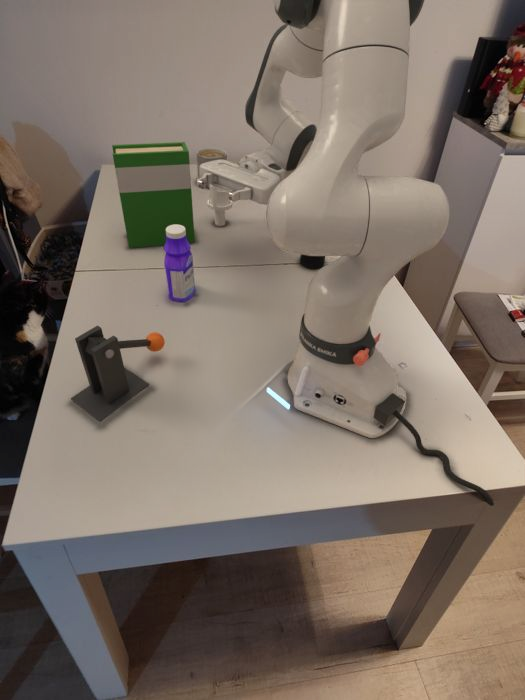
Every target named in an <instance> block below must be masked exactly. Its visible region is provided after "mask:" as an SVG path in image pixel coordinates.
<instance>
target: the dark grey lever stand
mask: <svg viewBox="0 0 525 700" xmlns="http://www.w3.org/2000/svg"><path fill="white" fill-rule="evenodd" d="M90 337H104V338H105V336H104V333H103V329H102V327H101V326H100V325H96V326H94V327H93V328H91V329H88V330H87V331H86V332H84V333H82V334H81V335H78V336H77V337H75V338H74V340H75V344H76V346H77V350H78V353H79V357H80V360H81V362H82V365H83V369H84V371H85V375H86V377H87V381H88V384H89V385H88V386H86V388H83V390H81V391H79V392H78V393H76V394H75V395H73V396H72V397H70V400H71V401H72V402H73V403H75V404H76V405H77V406H78V407H80V408H81V409H82V410H84V411H85V412H86V413H88V414H89V415H90V416H92V417H93V418H94V419H95V420H97V421H98V422H99V423H100V422H102V421H103V420H105V419H106V418H107V417H108V416H110V415H112V414H113V413H114V412H115V411H117V410H118V409H119V408H121V407H122V406H123V405H125V404H126V403H127V402H129V401H130V400H131V399H133V398H135V397H136V396H137V395H138V394H139V393H141V392H142V391H143V390H145V389H146V388H147V387H149V386H150V383H148V382H147V381H145V380H143V379H142V378H141V377H139V376H137V375H136V374H134V372H132V371H130V370H129V369H127V368H126V367H125V366H124V364H125V363H124V361H123V356H122V352H121V349H120V347H119V343H118V341H119V340H118V339H119V338H118V337H117V336H115V335H112V336H110V337H108V338H106V339H107V340H105V341H104V342H102V343H100V344H99V345H97V346H95V347H94V348H92V349H91V352H92V355H93V356H92V355H91V354H89V353H88V352H86V347H87V343H88V339H89V338H90Z"/></svg>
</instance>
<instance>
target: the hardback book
mask: <svg viewBox="0 0 525 700" xmlns="http://www.w3.org/2000/svg"><path fill="white" fill-rule="evenodd" d="M111 148H112V152H113V153H112V159H113V165H114V171H115V177H116V181H117V182H116V183H117V187H118V193H119V199H120V205H121V210H122V216H123V221H124V227H125V234H126V239H127V244H128V248H129V249H135V248H145V247H146V248H147V247H158V246H165V244H166V228H167V227H168V226H170V225H175V224H178V225H182V226H184V227H185V231H186V238H187V241H188V242H189V244H190V243H191V244H192V243H195V242H196V240H195V225H194V224H195V223H194V209H193V207H194V206H193V196H192V195H193V194H192V193H193V192H192V181H191V167H190V166H191V165H190V151H189V149H188V147H187V144H186V142H185V141H179V142H178V141H173V142H153V143H152V142H151V143H127V144H125V143H123V144H112V145H111Z"/></svg>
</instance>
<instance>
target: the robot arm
mask: <svg viewBox="0 0 525 700" xmlns="http://www.w3.org/2000/svg"><path fill="white" fill-rule="evenodd" d="M272 1H273V5H274V11H275V14H276V15H277V17H278V18H279V20H280V21H281V23H283V25H281V26H280V27H279V28H278V29H276V31H275V32H274V33H273V35H272V36H271V39H270V40H269V43H268V44H267V47H266V50H265V53H264V55H263V58H262V61H261V65H260V67H259V70H258V74H257V77H256V80H255V82H254V86H253V89H252V91H251V92H250V94H249V96H248V97H247V100H246V103H245V108H244V114H245V115H244V116H245V122H246V123H247V125H248V126H249V127H250V128H251V129H253V130H254V131H256V132H257V133H258V134H260V136H262V138H263V139H264V140H265V141H266V142H267V143H269V144H270V145H269V147H267V148H265V149H264V150H257V151H255V152H253V153H250V154H246V155H244V156H243V157H241V158H240V159H239V162H238V163H235V162H232V161H230V160H228V159H227V160H214V161H210V162H206V163H203V164H201V165H200V167H199V176H200V179H198V178H197V180H196V187H197V188H199V189H202V190H204V189H206V188H207V183H208V184H211V185H213V186H216V187H218V188H221V189H224V190H226V191H229V200H231V201H232V202H233V203H234V202H238V201H246V200H248V201H251V202H254V203H257V204H259V205H266V211H265V222H266V228H267V231H268V234H269V236H270V238H271V240H272V241H273V243H274V244H275V245H276V246H277V248H279V250H281V251H284V252H288V253H292V254H297V255H301V254H302V255H308V256H325V257H338V259H335V260H334V261H331V262H330V263H327V264H325V265H324V266H323V267H322V268H320V269H317V270H316V272H315V273H314V274H313V277H312V278H311V279H310V281H309V283H308V286H307V294H306V302H305V308H304V313H303V314H302V316H301V319H300V326H299V333H298V338H299V343H298V348H297V351H296V354H295V357H294V360H293V362H292V364H291V365H290V367H289V369H288V372H287V376H286V377H287V384H288V386H289V388H290V391H291V393H292V395H293V405H294V408H295V409H296V410H298V411H300V412H302V413H305V414H307V415H311V416H313V417H316V418H318V419H320V420H323V421H325V422H328V423H331V424H333V425H336V426H338V427H340V428H343V429H345V430H347V431H351V432H353V433H356V434H358V435H361V436H363V437H366V438H369V439H376V438H379V437H381V436H384V435H385V434H387V433H388V432H389V431H391V430H392V429H393V428H394V427H395V426H396V425H397V423H398V422H400V423H401V424H402V425H403V426H404V427H406V429H407V430H408V431H409V433H411V435H412V436H413V438H414V440H415V445H416V447H417V449H418V451H419V452H420V453H422V454H423V455H425V456H437V457H439V458H441V460H442V462H443V470H444V472H445V474H446V475H447V476H448V477H449V478H450V479H451V480H452V481H454V482H455V483H456V484H458V485H460V486H462V487H465V488H468V489H470V490H472V491H474V492H476V493H478V494H479V495H481V497H483V499H484V500H485V502H486V504H488V505H489V506H491V507H493V506H494V504H495V502H494V500H493V498H492V497H491V495H490V494H489V493H488V492H487V490H485V489H484V488H483V487H481V486H479V485H477V484H476V483H473V482H470V481H468V480H465V479H463V478H462V477H460V476H458V475H457V474H455V473H454V472H453V471H452V469H451V464H450V459H449V457H448V455H447V454H446V453H445V452H443V451H442V450H440V449H439V450H438V449H428V448H426V447H425V446H424V445H423V443H422V437H421V436H420V434H419V432H418V431H417V429H416V428H415V426H414V425H413V424H411V423H410V422H409V420H408V419H406V418H405V417H404V416H403V414H404V411H405V408H406V404H407V392H406V389H404V388H403V387H402V386H401V385H399V377H398V373H397V371H396V369H395V367H393V366H392V364H391V363H390V362H389V361H388V360H387V358H385V356H384V354H383V353H382V352H381V351H379V350H378V348H377V347H376V345H377V344H378V342H379V341H380V338H381V335H382V333H381V332H379V333H378V334H377V335H376V336H375V338H374V335H373V334H372V329H371V325H370V324H371V320H372V317H373V314H374V311H375V308H376V306H377V303H378V300H379V297H381V296H380V295H381V294H382V292H383V290H384V289H385V288H386V286H387V284H388V283H389V282H390V281H391V280H392V279H393V278H394V277H395V276H396V275H397V273H398V272H400V271H401V270H402V268H404V267H405V266H406V265H407V264H409V263H410V262H411V261H413V260H414V259H415V258H417V257H419V256H421V255H423V254H425V253H426V252H429V251H431V250H432V249H433V248H435V246H437V244H438V243H439V242H440V241H441V239H442V238H443V237H444V235H445V233H446V230H447V228H448V225H449V222H450V221H449V220H450V204H449V199H448V197H447V195H446V193H445V191H444V189H443V188H442V187H441V185H439V184H438V183H437V182H432V181H429V180H425V179H421V178H417V177H412V176H407V175H362V174H359V164H360V161H361V158H362V156H363V154H365V153H367V152H369V151H372V150H374V149H375V148H378V147H379V146H380V145H383V144H384V143H386V142H387V141H389V140H390V139H392V138H393V137H394V136H395V135H396V134H397V132H399V130H400V128H401V126H402V124H403V121H404V119H405V116H406V115H405V114H406V104H407V91H408V78H409V77H408V76H409V64H410V63H409V62H410V48H411V47H410V45H411V44H410V43H411V27H412V25H413V24H414V23H415V22H416V21H417V19H418V18H419V15H420V14H421V11H422V8H423V6H424V3H425V0H272ZM287 72H289V73H291V74H293V75H295V76H297V77H299V78H303V79H317V78H321V91H320V92H321V95H320V106H319V114H318V121H317V122H318V123H317V126H316V124H315V123H314V122H313V121H312V120H311V119H310V118H308V117H307V115H306V114H305V113H303V112H302V111H301V110H300V109H299V108H298V106H296V105H295V104H294V103H293V102H292V101H291V100H290V99H289V98H288V97H287V96H286V94H285V93H284V92H283V90H282V87H281V86H282V85H281V84H282V82H283V80H284V78H285V75H286V73H287ZM207 189H208V188H207ZM266 393H268V394H269V395H270V396H271V397H272V398H274V399H275V400H276V401H277V402H278V403H280V404H281V405H282V406H283V407H284V408H286V409H287V410H290V407H291V405H290V403H288V402H287V401H286V400H285V399H284V398H282V397H281V396H280V395H278V394H277V393H276V392H275V391H273V390H272V389H271V388H270V387H267V388H266Z"/></svg>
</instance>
